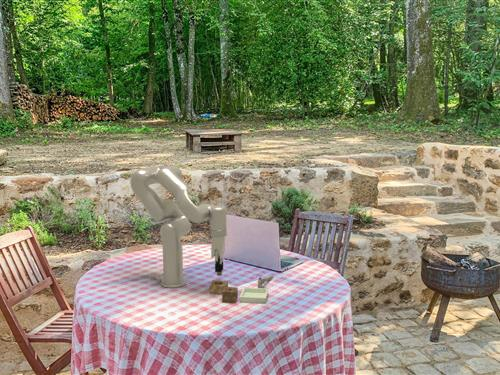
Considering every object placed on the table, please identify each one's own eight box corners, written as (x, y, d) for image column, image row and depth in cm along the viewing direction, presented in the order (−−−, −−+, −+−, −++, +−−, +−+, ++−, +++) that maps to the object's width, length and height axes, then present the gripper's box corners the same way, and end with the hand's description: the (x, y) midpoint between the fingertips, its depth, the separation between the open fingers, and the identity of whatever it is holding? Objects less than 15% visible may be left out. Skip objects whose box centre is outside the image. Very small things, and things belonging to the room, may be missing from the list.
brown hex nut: (209, 293, 230) (209, 285, 230) (212, 288, 238) (212, 280, 237) (225, 294, 229) (225, 286, 229) (228, 288, 237) (227, 280, 236)
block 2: (222, 302, 220) (222, 291, 219) (224, 297, 226) (224, 286, 225) (235, 303, 219) (235, 292, 219) (237, 297, 225) (237, 287, 225)
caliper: (259, 291, 234) (260, 278, 233) (257, 290, 235) (257, 278, 234) (273, 277, 253) (274, 265, 252) (271, 277, 253) (272, 265, 252)
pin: (216, 275, 231) (216, 259, 230) (217, 274, 233) (217, 257, 232) (221, 276, 231) (221, 259, 229) (222, 274, 233) (222, 257, 232)
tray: (239, 302, 220) (239, 296, 220) (243, 292, 232) (243, 287, 231) (265, 303, 219) (265, 298, 219) (268, 293, 230) (268, 288, 230)
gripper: (213, 228, 237) (214, 265, 240) (206, 236, 221) (207, 276, 224) (229, 228, 236) (230, 265, 239) (223, 237, 220) (224, 277, 223)
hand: (219, 270), depth 232 cm, fingers closed on pin, 2 cm apart
